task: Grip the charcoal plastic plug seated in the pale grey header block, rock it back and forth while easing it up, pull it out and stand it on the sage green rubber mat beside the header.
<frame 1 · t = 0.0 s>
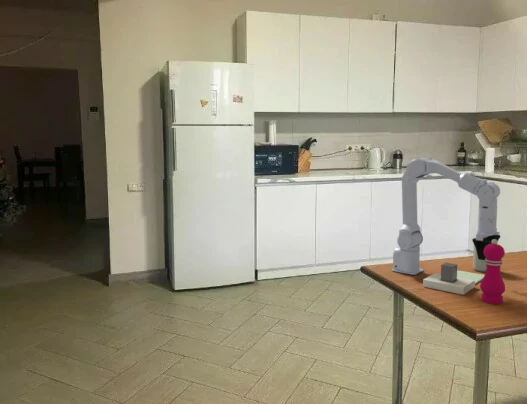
hand: (485, 257, 170), 10 cm above the table, tool pointing down, fingers open, 7 cm apart
plug: (448, 287, 171), resting in header
pepper mill: (491, 301, 156), on the table
header: (448, 286, 171), on the table
can: (483, 270, 190), on the table
mat: (464, 277, 181), on the table
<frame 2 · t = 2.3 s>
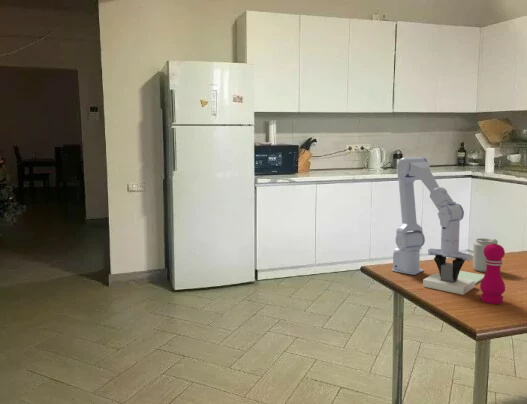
hand: (448, 277, 170), 3 cm above the table, tool pointing down, fingers closed on plug, 4 cm apart
plug: (448, 286, 171), resting in header, touching gripper
everything else where it was.
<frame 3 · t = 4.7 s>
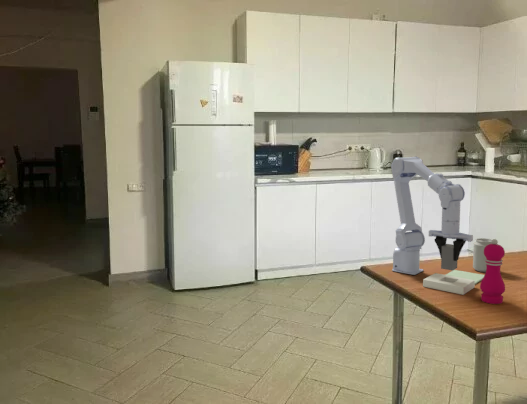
hand: (449, 259, 169), 10 cm above the table, tool pointing down, fingers closed on plug, 4 cm apart
plug: (449, 268, 170), point 7 cm above the table, touching gripper
everything else where it was.
when the fingers open (5 cm above the table, at t = 7.2 s): plug drops 1 cm, resting on mat.
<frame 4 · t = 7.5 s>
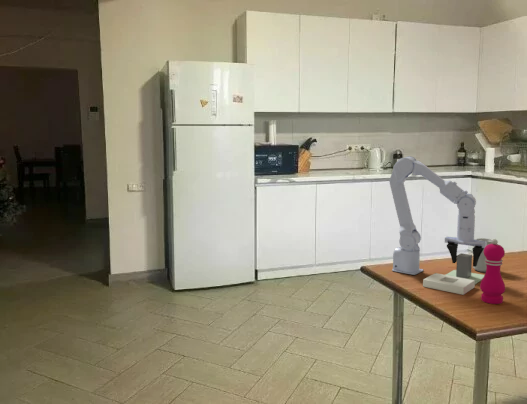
hand: (464, 264, 180), 5 cm above the table, tool pointing down, fingers open, 7 cm apart
plug: (463, 276, 181), resting on mat
everything else where it was.
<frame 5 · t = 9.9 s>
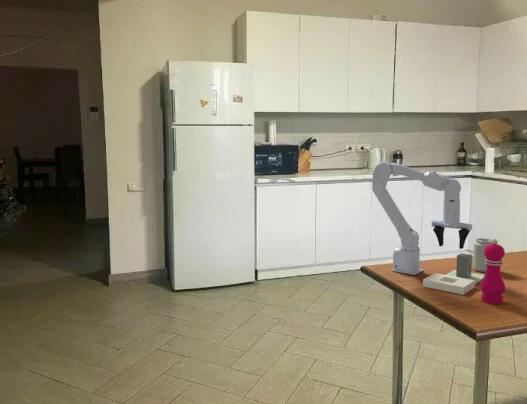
hand: (451, 247, 184), 10 cm above the table, tool pointing down, fingers open, 7 cm apart
nothing on the table moved.
at the end: plug inside the target area on the mat (0.4 cm from its centre), point 0.5 cm above the mat's base; plug tilted 0°; the gripper is holding nothing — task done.
